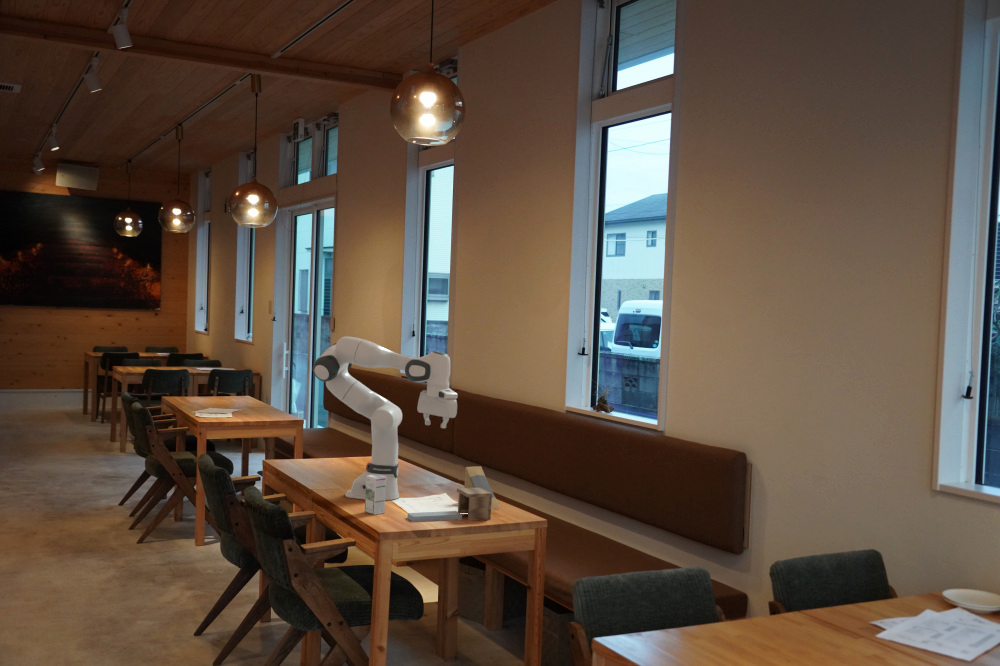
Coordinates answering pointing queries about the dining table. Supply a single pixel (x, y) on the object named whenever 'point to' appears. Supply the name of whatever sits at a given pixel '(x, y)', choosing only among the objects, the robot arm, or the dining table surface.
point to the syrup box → (375, 494)
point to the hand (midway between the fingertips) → (435, 426)
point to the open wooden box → (475, 503)
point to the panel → (434, 516)
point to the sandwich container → (478, 482)
